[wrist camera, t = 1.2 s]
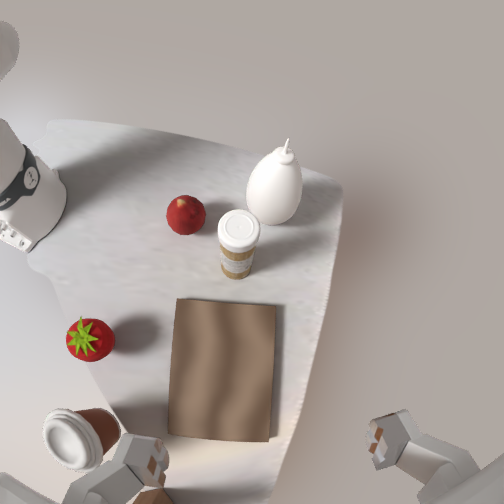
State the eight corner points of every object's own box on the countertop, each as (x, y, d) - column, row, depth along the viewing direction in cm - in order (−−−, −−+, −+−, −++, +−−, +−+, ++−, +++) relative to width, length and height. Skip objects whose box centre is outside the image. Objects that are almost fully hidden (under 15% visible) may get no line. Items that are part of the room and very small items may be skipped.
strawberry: (82, 328, 35) (46, 319, 26) (122, 318, 37) (92, 306, 27) (90, 365, 33) (55, 365, 24) (131, 356, 35) (102, 356, 25)
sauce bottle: (293, 236, 44) (328, 167, 27) (244, 236, 43) (254, 162, 26) (289, 195, 46) (316, 119, 30) (243, 194, 46) (252, 113, 29)
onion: (201, 206, 44) (196, 177, 37) (211, 236, 42) (208, 210, 35) (167, 217, 43) (157, 190, 36) (176, 247, 41) (166, 224, 34)
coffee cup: (86, 389, 32) (42, 396, 21) (135, 418, 31) (102, 439, 20) (74, 432, 29) (32, 448, 17) (121, 461, 28) (88, 490, 17)
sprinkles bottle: (236, 246, 42) (239, 200, 30) (257, 266, 41) (270, 227, 29) (214, 265, 41) (208, 226, 28) (236, 286, 40) (239, 255, 27)
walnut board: (170, 431, 31) (167, 433, 30) (178, 300, 38) (176, 298, 37) (267, 439, 32) (268, 442, 31) (274, 308, 39) (276, 306, 38)
